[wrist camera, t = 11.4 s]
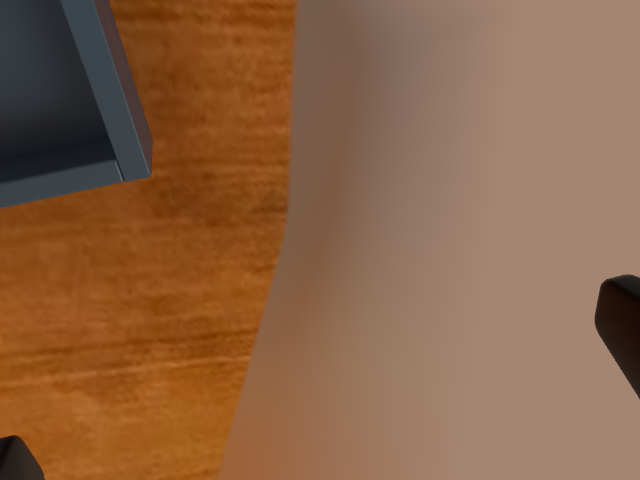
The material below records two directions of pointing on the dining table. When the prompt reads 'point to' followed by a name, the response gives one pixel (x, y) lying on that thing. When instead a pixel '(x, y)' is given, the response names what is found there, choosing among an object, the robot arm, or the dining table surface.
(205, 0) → the dining table surface
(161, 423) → the dining table surface
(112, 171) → the tray
